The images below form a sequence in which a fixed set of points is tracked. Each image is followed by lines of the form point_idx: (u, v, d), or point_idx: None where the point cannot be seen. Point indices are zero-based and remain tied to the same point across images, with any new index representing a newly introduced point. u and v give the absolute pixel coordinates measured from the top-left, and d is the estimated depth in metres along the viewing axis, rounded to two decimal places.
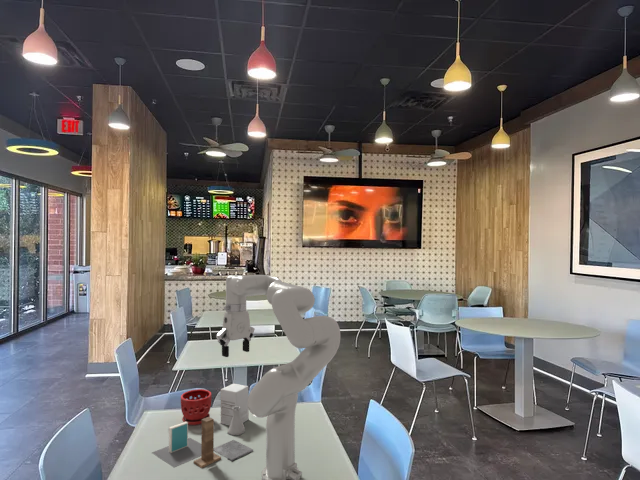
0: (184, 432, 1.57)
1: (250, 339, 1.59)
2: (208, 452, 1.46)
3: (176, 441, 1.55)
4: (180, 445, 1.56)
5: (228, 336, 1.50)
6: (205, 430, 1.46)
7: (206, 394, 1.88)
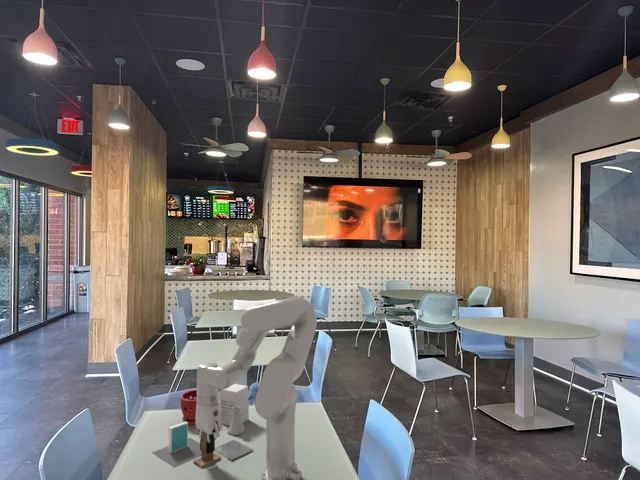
0: (184, 432, 1.57)
1: None
2: None
3: (176, 441, 1.55)
4: (180, 445, 1.56)
5: (220, 427, 1.46)
6: None
7: None
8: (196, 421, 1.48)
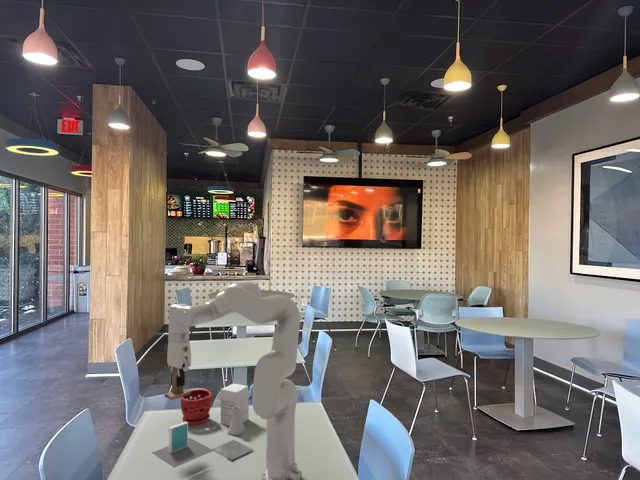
0: (184, 432, 1.57)
1: None
2: None
3: (176, 441, 1.55)
4: (180, 445, 1.56)
5: (190, 363, 1.56)
6: None
7: (206, 394, 1.88)
8: (168, 358, 1.59)
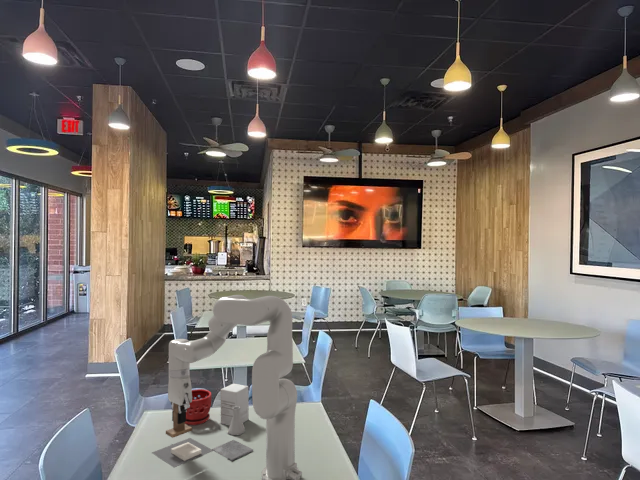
0: None
1: None
2: None
3: None
4: None
5: (191, 399, 1.55)
6: None
7: (206, 394, 1.88)
8: (168, 394, 1.57)
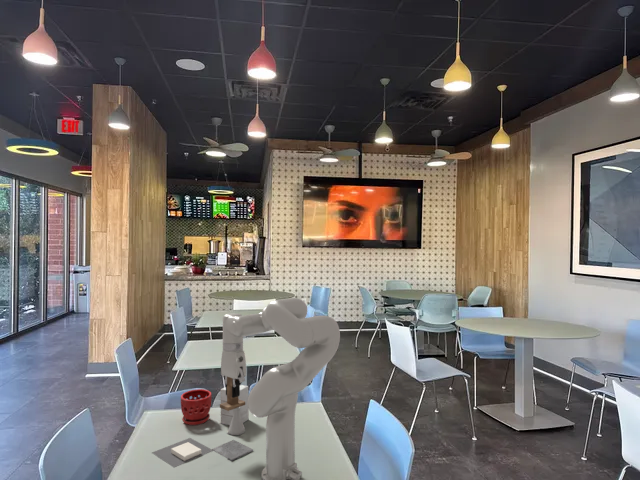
0: None
1: None
2: None
3: None
4: None
5: (245, 373, 1.54)
6: None
7: (206, 394, 1.88)
8: (222, 368, 1.57)
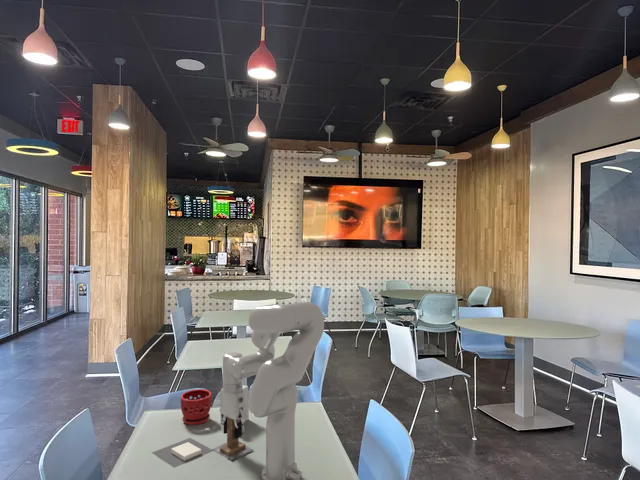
0: None
1: None
2: (234, 439, 1.54)
3: None
4: None
5: (245, 413, 1.54)
6: (231, 419, 1.54)
7: (206, 394, 1.88)
8: (222, 408, 1.57)
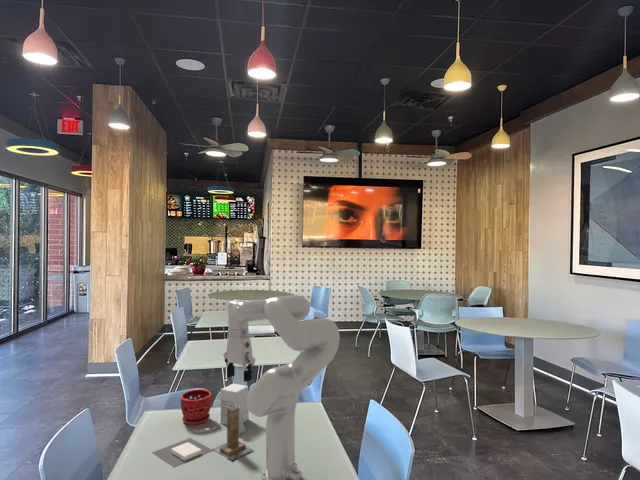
0: None
1: None
2: (234, 439, 1.54)
3: None
4: None
5: None
6: (231, 419, 1.54)
7: (206, 394, 1.88)
8: (228, 355, 1.58)
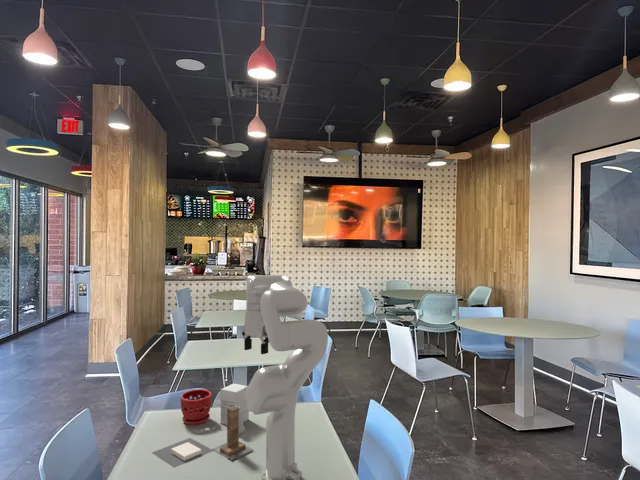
0: None
1: None
2: (234, 439, 1.54)
3: None
4: None
5: None
6: (231, 419, 1.54)
7: (206, 394, 1.88)
8: (245, 328, 1.61)
